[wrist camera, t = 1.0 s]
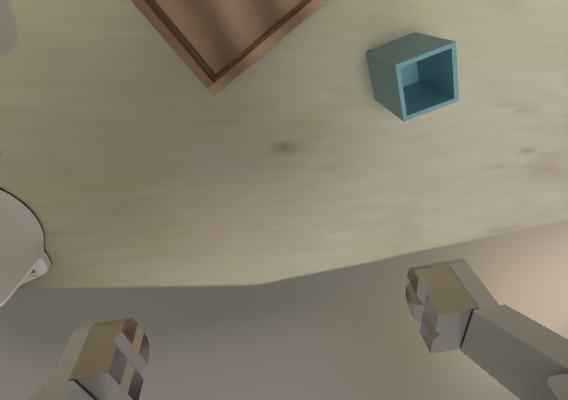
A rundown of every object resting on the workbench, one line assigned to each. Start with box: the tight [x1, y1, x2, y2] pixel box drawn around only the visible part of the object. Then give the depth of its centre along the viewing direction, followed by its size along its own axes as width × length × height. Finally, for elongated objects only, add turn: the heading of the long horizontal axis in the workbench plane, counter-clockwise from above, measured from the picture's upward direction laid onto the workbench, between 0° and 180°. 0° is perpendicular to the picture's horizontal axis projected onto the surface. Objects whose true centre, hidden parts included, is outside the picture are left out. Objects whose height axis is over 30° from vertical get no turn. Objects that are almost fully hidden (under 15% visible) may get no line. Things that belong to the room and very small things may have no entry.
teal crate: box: [366, 33, 459, 121], centre depth 34 cm, size 6×6×8 cm
